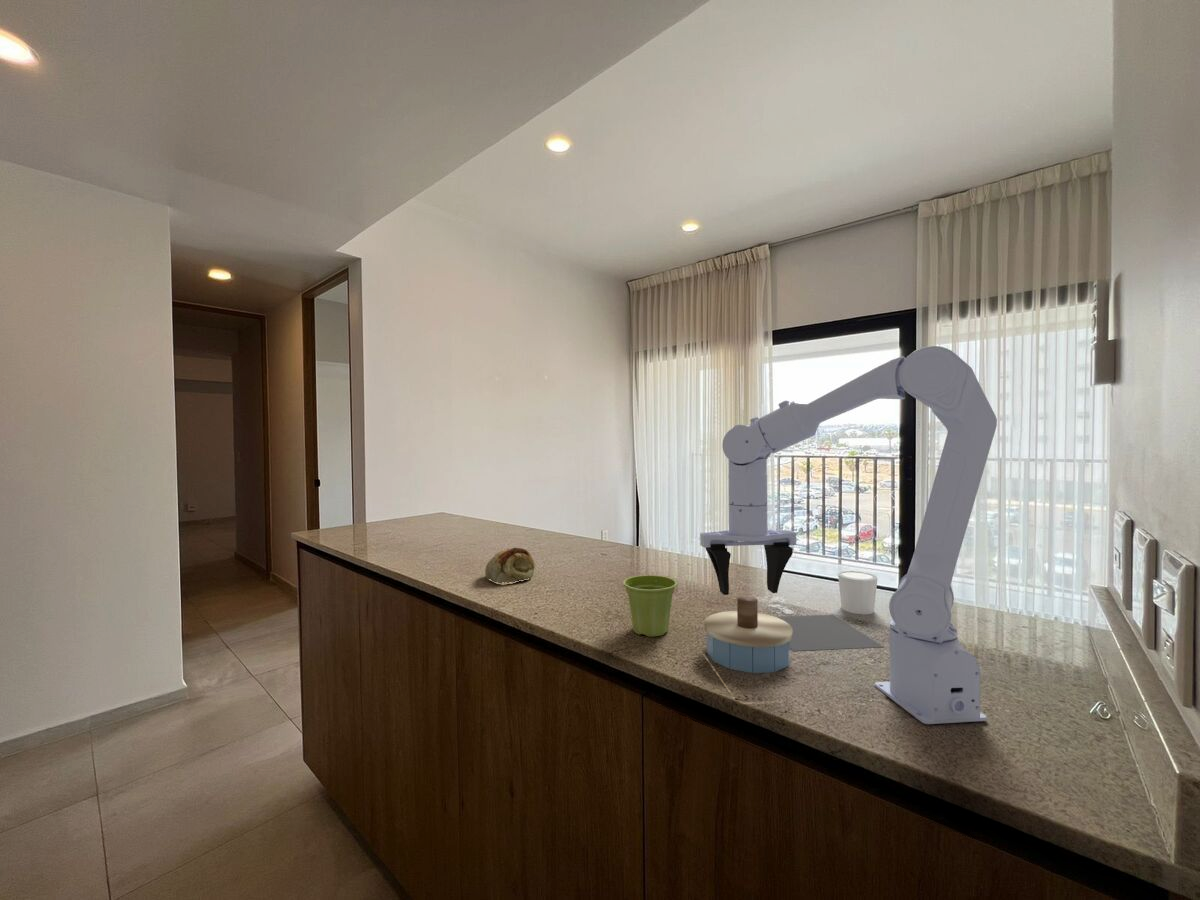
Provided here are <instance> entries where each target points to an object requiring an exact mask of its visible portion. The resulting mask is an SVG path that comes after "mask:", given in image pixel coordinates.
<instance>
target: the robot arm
mask: <svg viewBox="0 0 1200 900" xmlns="http://www.w3.org/2000/svg"><path fill="white" fill-rule="evenodd" d="M905 392H906V393H907V394H909V396H912V397H913V398H914V399H916V400H917V401H919V402H920V403H922V404H923V405H925V406H926V407H928V408H930V409H931V412H932V413H933V414H934V415H935V416H936V418H937V420H939V421H940V423H941V424H942V425H943V426H944V427H945V429H946V431H947V433H946V437H945V441H944V445H943V448H942V451H941V455H940V459H939V462H938V466H937V469H936V472H935V477H934V479H933V483H932V487H931V490H930V494H929V497H928V501H927V505H926V508H925V509H926V510H925V513H924V516H923V520H922V523H921V526H920V530H919V533H918V537H917V541H916V544H915V548H914V552H913V555H912V558H911V561H910V565H909V567H908V570H907V573H906V574H905V575H904V576H902V578H901V579H900V581H899V583H898V584H897V585H898V586H897V589H896V590H895V591H894V593H893V594H892V595H891V597H890V599H889V604H888V605H889V606H888V608H889V609H888V610H889V613H890V617H891V619H890V620H889V681H876V682H874V687H875V688H876V689H878V690H879V691H880V692H881V693H883V694H884V695H885V696H887V697H888V698H889V699H891V700H892V701H894V702H895V703H896V704H897V705H898V706H900V707H901V708H902V709H904V710H905V711H907V712H908V713H909V714H911V715H912V716H913V717H914V718H915V719H917V720H918V721H919V722H921V723H922V724H925V725H936V724H937V725H938V724H939V725H940V724H956V723H957V724H958V723H969V722H970V723H971V722H973V723H974V722H985V721H987V720H988V719H987V718H988V717H987V715H985V714H984V713H982V712H981V669H980V665H979V662H978V660H977V659H976V658H975V656H974V655H973V654H972V653H971V652H969V651H967V650H966V649H965V647H963V645H962V644H961V643H960V640H959V638H958V630H957V628H956V627H955V626H953V624H952V622H951V621H952V608H953V605H954V601H955V597H954V592H953V587H952V581H953V576H954V573H955V569H956V566H957V563H958V559H959V556H960V552H961V549H962V545H963V542H964V538H965V535H966V532H967V529H968V525H969V522H970V519H971V515H972V512H973V507H974V505H975V501H976V498H977V495H978V490H979V488H980V484H981V481H982V477H983V474H984V471H985V467H986V464H987V461H988V458H989V454H990V451H991V450H990V449H991V446H992V443H993V439H994V437H995V433H996V430H997V425H998V424H997V423H998V419H997V416H996V413H995V412H994V410H993V408H992V406H991V404H990V402H989V400H988V398H987V396H986V394H985V392H984V390H983V388H982V386H981V385H980V382H979V381H978V378H977V375H976V374H975V371H974V370H973V368H972V367H971V365H969V364H968V363H967V362H965V361H964V360H963V359H962V358H961V357H960V356H959V355H958V354H956V353H955V352H954V351H953V350H951V349H949V348H947V347H943V346H941V345H939V346H938V345H929V346H924V347H921V348H919V349H916V350H914V351H913V352H911V353H910V354H909V355H907V356H906V357H905V356H904V355H902V356H900V357H899V356H898V357H895V358H893V359H891V360H889V361H887V362H885V363H882V364H880V365H879V366H877V367H874V368H872V369H870V370H869V371H867V372H865V373H863V374H861V375H859V376H857V377H856V378H854V379H852V380H850V381H847V382H846V383H845V384H842V385H841V386H839V387H837V388H834V389H833V390H831V391H830V392H827V393H825V394H824V395H822V396H820V397H818V398H816V399H814V400H813V401H811V402H808V403H807V402H804V401H801V400H797V399H796V400H793V401H791V402H790V401H789V400H783V401H782V402H780V403H778V407H779V408H777V409H775V410H773V411H771V412H769V413H767V414H765V415H763V416H761V417H758V416H754V417H752V418H751V419H750V420H749V422H750V424H749V425H746V424H736V425H734V426H733V427H732V428H731V429H730V430H728V431H727V432H726V434H725V435H724V436H723V440H722V451H723V454H724V456H725V457H726V458H727V459H728V529H727V530H720V531H709V532H700V534H699V535H700V536H699V537H700V539H699V540H700V544H699V545H700V546H701V547H702V548H705V551H706V553H707V555H708V556H709V558H710V561H711V564H712V566H713V568H714V572H715V574H716V577H717V583H718V586H719V592H720V594H722V595H724V596H729V593H730V581H729V574H730V573H729V572H730V571H729V570H730V561H731V556H732V554H731V552H729V551H728V548H727V547H731V546H732V547H733V546H737V547H738V546H742V547H743V546H764V547H763V548H764V552H765V553H764V554H765V560H766V588H767V591H769V592H770V593H772V594H777V593H778V591H779V585H780V581H781V579H782V576H783V573H784V571H785V568H786V566H787V564H788V562H789V561H790V559H791V557H792V556H793V552H794V550H793V549H794V548H793V547H792V546H797V532H796V531H793V530H775V529H774V530H773V529H768V462H767V460H768V459H769V457H770V456H771V454H776V453H779V452H781V451H783V450H785V449H787V448H790V447H791V446H795V445H797V444H799V443H801V442H803V441H806V440H808V439H810V438H812V437H814V436H815V435H816V433H817V432H818V428H819V427H820V424H821V423H823V422H826V421H828V420H830V419H832V418H835V417H837V416H840V415H842V414H844V413H847V412H849V411H852V410H855V409H856V408H859V407H862V406H864V405H867V404H868V403H871V402H874V401H876V400H883V399H886V400H905V399H906V396H905Z"/></svg>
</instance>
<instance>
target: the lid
mask: <svg viewBox="0 0 1200 900" xmlns="http://www.w3.org/2000/svg"><path fill="white" fill-rule="evenodd" d="M736 600H737V601H736V603H737V605H736V607H737V608H736V610H728V611H720V612H716V613H713V614H710V615H708V616H707V617H706V618H705V620H704V630H705V632H706V634H707V633H708V634H709V635H710V636H712V637H714V638H716V639H718V640H720V641H723V642H726V643H730V644H734V645H739V646H746V647H773V646H779V645H782V644H785V643H787V642H789V641H790V640H791V639H792V636H793V630H792V627H791V626H790V625H789V624H788V623H787V622H785V621H784V620H781V619H779V618H777V617H778V616H773V615H769V614H767V613H762V612H759V611H758V610H759V609H758V608H759V607H758V605H759V604H758V599H757V598H756V597H753V596H746V595H745V596H744V595H742V596H738V597H737V598H736Z"/></svg>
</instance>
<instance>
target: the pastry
mask: <svg viewBox="0 0 1200 900" xmlns="http://www.w3.org/2000/svg"><path fill="white" fill-rule="evenodd" d="M535 568H536V565H535V561H534V558H533V556H532V555H531V553H530V552H529V551H528V550H527V549H525V548H521V547H513V548H507V549H505V550H501V551H498V552H496V553H495V554H494V555H493V557H492V558H491V559H489V560H488V562H487V563H486V567H485V569H484V573H485V578H486V579H487V580H488V579H491V580H492V581H494V582H498V583H502V582H504V583H505V582H507V583H509V582H515V581H519V580H524V579H528V578H531V577H532V578H533V576H534V573H535V572H534V571H535ZM532 578H531V579H532Z"/></svg>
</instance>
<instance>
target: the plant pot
mask: <svg viewBox="0 0 1200 900" xmlns="http://www.w3.org/2000/svg"><path fill="white" fill-rule="evenodd" d="M622 583H623V587H625V591H626V593H627V596H628V601H629V609H630V615H631V616H630V617H631V623H632V629H633V630H632V631H633V632H634V633H636V634H637V635H638V636H639V635H645V636H646V637H652V638H653V637H658V636H659V637H660V636H663V635H665V634H666V633H668V632H669V629H670V628H669V627H670V616H671V610H672V609H671V608H672V601H673V595H674V593H675V589H676V587H677V585H678V582H677V580H675V578H674V579H673V577H668V576H664V575H656V574H654V575H653V574H652V575H651V574H645V575H644V574H643V575H635V576H630V577H627V578H625V579H624V580H623V582H622Z"/></svg>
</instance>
